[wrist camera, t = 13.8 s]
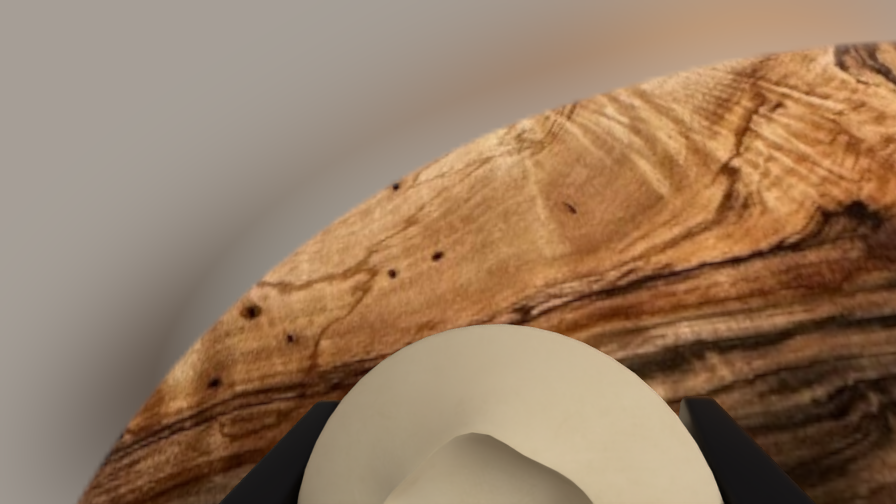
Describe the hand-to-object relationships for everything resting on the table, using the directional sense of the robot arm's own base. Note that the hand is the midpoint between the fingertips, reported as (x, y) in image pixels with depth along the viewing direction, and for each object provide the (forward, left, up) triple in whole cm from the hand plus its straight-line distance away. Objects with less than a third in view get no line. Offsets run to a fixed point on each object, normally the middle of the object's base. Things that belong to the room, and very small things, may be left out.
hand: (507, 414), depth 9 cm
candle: (-1, -1, -7) cm, 7 cm away
